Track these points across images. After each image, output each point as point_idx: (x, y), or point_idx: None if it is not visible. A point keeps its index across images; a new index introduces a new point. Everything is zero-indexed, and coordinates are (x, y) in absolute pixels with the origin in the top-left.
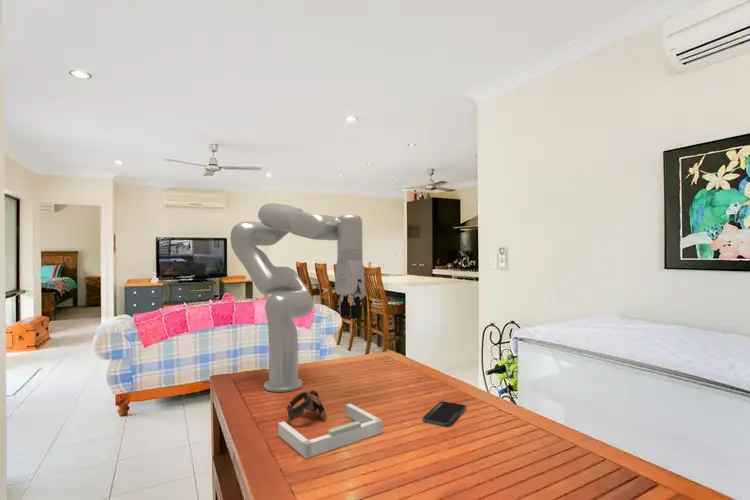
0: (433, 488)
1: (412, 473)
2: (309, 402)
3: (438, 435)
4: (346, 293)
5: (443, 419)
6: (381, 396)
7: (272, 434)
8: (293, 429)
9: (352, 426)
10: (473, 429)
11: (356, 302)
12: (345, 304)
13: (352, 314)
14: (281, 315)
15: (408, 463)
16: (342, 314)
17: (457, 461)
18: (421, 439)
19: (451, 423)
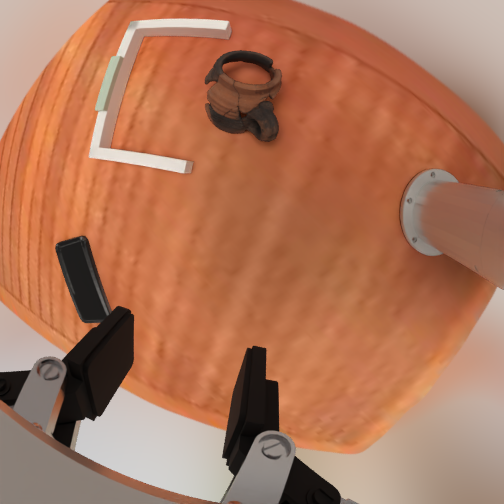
0: (19, 113)
1: (36, 113)
2: (214, 74)
3: (52, 210)
4: (9, 421)
5: (68, 256)
6: (212, 293)
7: (243, 27)
8: (183, 26)
9: (100, 93)
10: (42, 257)
11: (27, 372)
12: (230, 433)
13: (106, 324)
14: None
15: (44, 123)
16: (246, 357)
17: (20, 170)
18: (58, 183)
19: (56, 251)
